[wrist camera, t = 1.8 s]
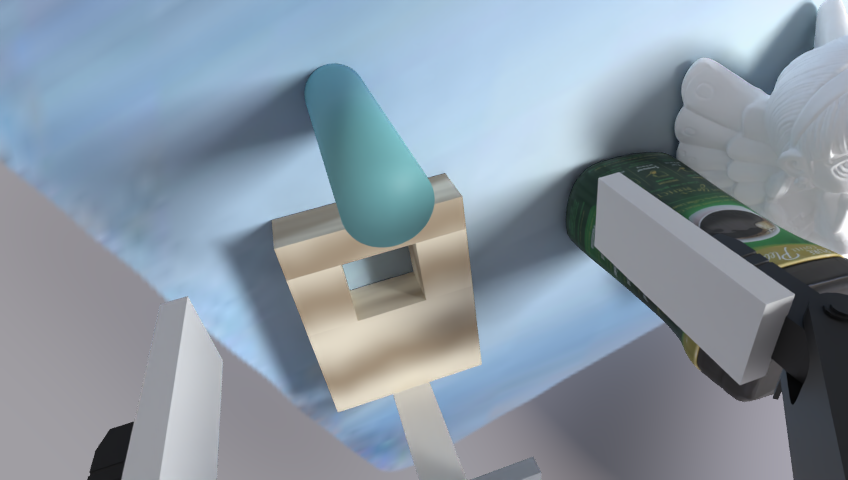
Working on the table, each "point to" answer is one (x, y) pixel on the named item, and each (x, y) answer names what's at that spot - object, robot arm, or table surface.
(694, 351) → the coffee jar
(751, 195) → the cherub figurine
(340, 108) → the peg
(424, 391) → the light grey angular piece
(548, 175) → the table surface
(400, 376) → the socket block
